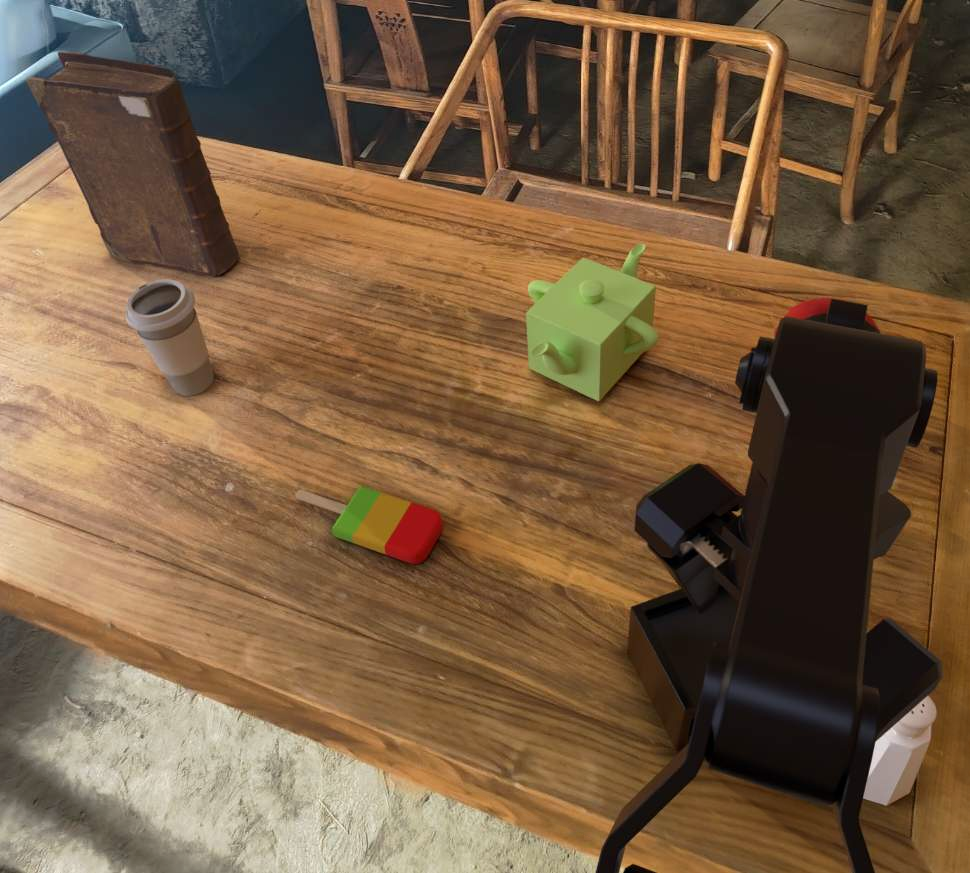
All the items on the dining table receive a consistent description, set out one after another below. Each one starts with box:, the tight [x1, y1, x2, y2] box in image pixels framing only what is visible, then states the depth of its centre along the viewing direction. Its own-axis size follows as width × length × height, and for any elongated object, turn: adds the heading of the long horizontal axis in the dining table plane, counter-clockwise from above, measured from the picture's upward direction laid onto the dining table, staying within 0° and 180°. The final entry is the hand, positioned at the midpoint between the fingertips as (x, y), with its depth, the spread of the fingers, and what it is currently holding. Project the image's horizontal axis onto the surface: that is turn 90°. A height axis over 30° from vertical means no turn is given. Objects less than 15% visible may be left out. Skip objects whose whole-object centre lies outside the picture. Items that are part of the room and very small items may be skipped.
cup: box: [125, 278, 215, 397], centre depth 98 cm, size 7×7×12 cm
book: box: [26, 50, 240, 278], centre depth 108 cm, size 17×7×25 cm, turn 64°
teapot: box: [525, 243, 660, 402], centre depth 96 cm, size 15×13×11 cm
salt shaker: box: [863, 695, 937, 807], centre depth 65 cm, size 5×5×11 cm
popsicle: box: [294, 485, 444, 565], centre depth 87 cm, size 6×15×2 cm, turn 66°
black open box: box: [626, 584, 740, 752], centre depth 73 cm, size 9×14×8 cm, turn 110°
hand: (754, 657), depth 61 cm, fingers open, 9 cm apart
